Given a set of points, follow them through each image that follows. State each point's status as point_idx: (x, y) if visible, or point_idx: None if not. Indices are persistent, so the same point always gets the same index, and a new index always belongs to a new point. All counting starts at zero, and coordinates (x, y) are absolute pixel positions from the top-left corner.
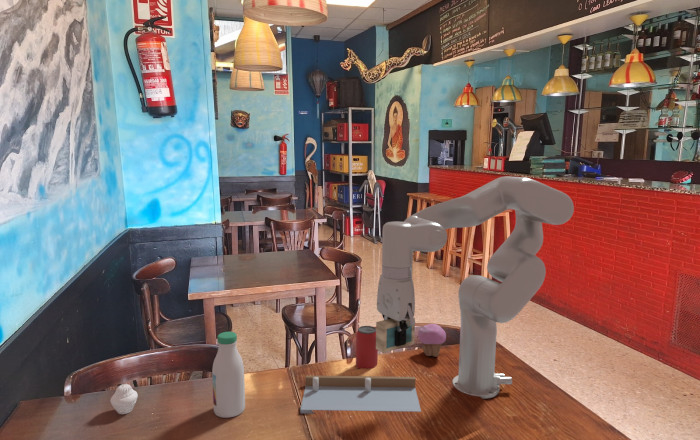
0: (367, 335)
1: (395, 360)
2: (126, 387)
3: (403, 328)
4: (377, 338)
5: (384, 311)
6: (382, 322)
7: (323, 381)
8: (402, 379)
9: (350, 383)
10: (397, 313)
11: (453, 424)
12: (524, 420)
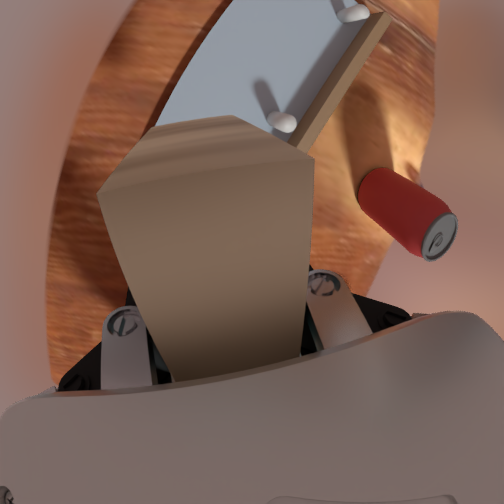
0: (425, 223)
1: (357, 257)
2: None
3: (87, 358)
4: (227, 125)
5: (349, 405)
6: (242, 239)
7: (359, 40)
8: None
9: (322, 93)
10: (15, 489)
11: (79, 240)
12: (78, 339)
